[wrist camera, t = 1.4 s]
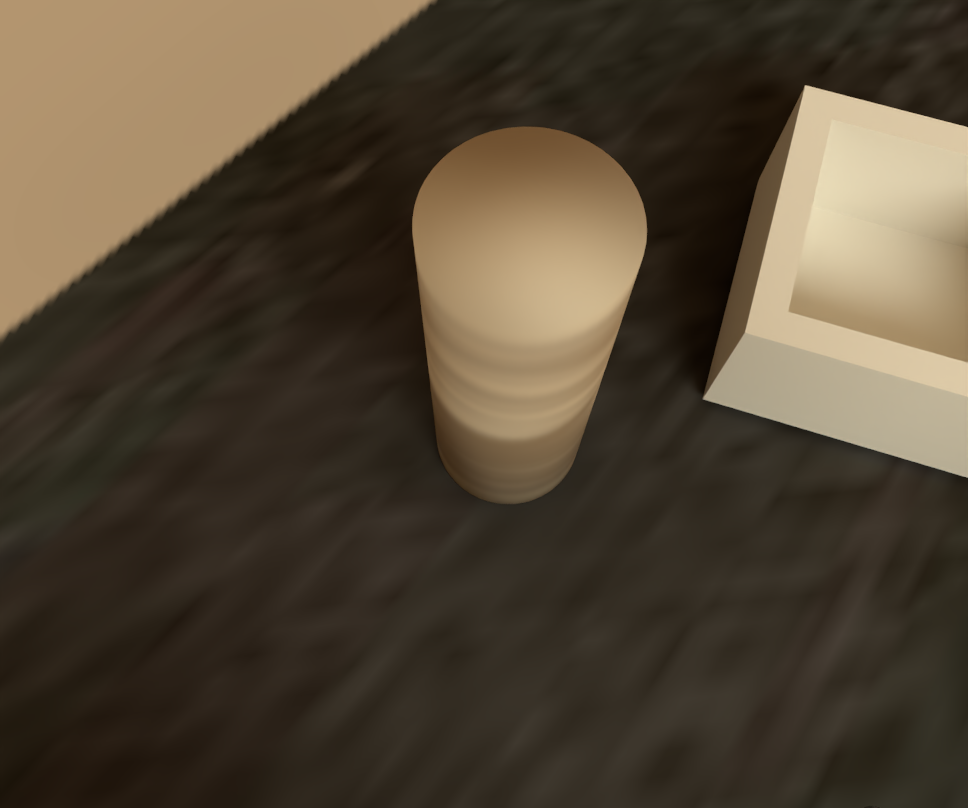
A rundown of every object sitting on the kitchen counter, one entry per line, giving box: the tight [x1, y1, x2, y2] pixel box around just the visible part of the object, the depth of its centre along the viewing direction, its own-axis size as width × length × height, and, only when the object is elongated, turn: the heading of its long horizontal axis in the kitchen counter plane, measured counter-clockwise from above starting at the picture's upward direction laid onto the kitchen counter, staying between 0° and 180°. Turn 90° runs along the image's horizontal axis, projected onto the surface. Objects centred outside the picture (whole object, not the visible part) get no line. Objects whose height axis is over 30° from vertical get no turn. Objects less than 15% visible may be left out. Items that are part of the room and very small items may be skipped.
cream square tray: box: [703, 85, 968, 478], centre depth 23 cm, size 7×7×4 cm
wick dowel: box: [412, 127, 647, 504], centre depth 19 cm, size 4×4×10 cm
